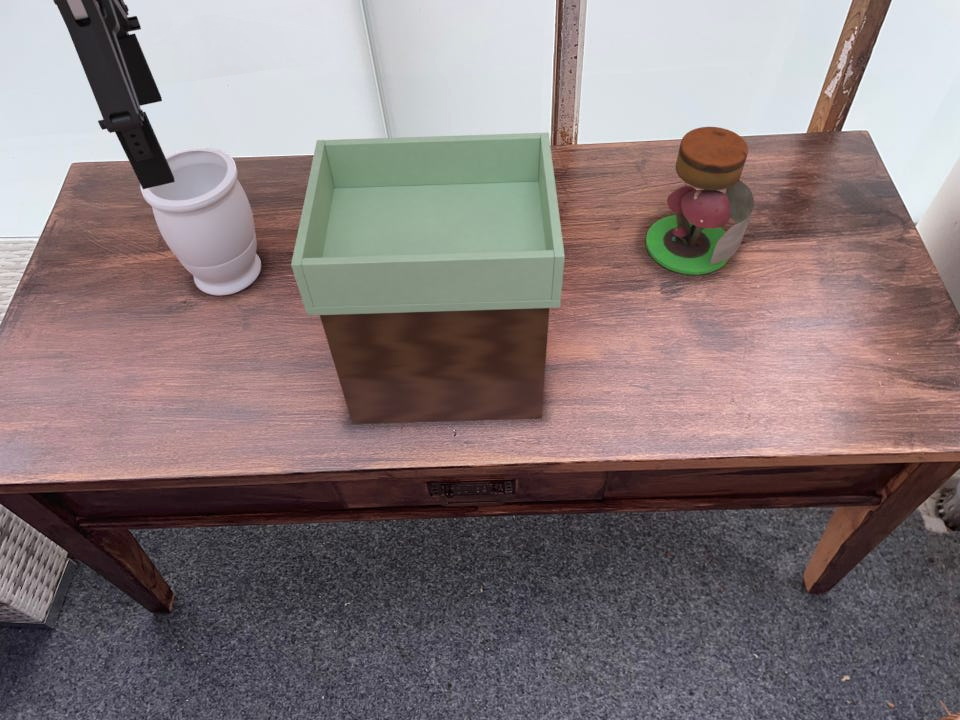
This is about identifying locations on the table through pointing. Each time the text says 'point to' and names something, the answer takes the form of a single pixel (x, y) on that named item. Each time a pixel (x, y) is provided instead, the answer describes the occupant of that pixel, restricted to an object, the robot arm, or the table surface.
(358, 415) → the stand
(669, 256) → the toy figurine
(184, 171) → the jar
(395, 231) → the tray
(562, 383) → the table surface
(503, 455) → the table surface
